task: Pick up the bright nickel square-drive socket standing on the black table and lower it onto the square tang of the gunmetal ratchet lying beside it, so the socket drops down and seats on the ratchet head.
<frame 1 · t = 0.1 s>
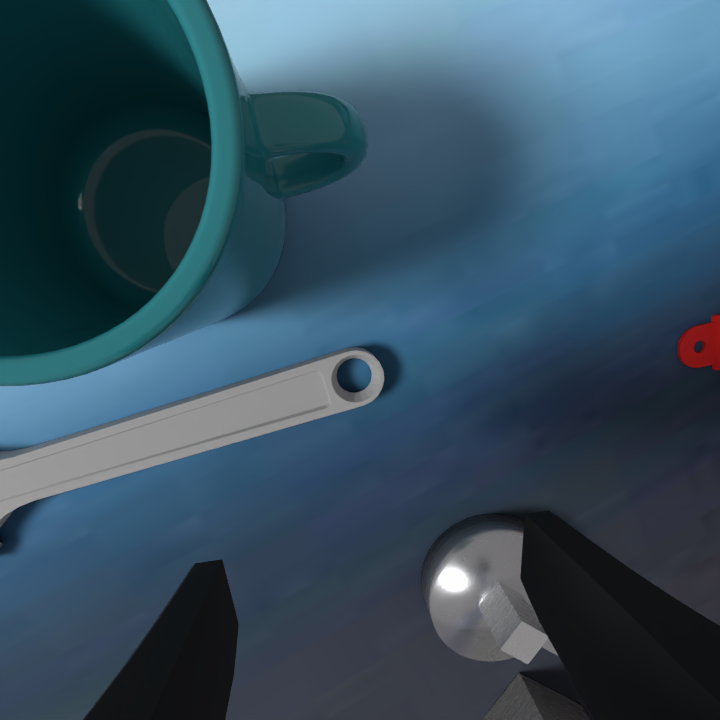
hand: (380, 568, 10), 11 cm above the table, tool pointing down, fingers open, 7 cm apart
adjustable wrench: (125, 453, 20), on the table
socket: (525, 719, 25), on the table
cup: (215, 213, 18), on the table
ratchet: (484, 572, 23), on the table
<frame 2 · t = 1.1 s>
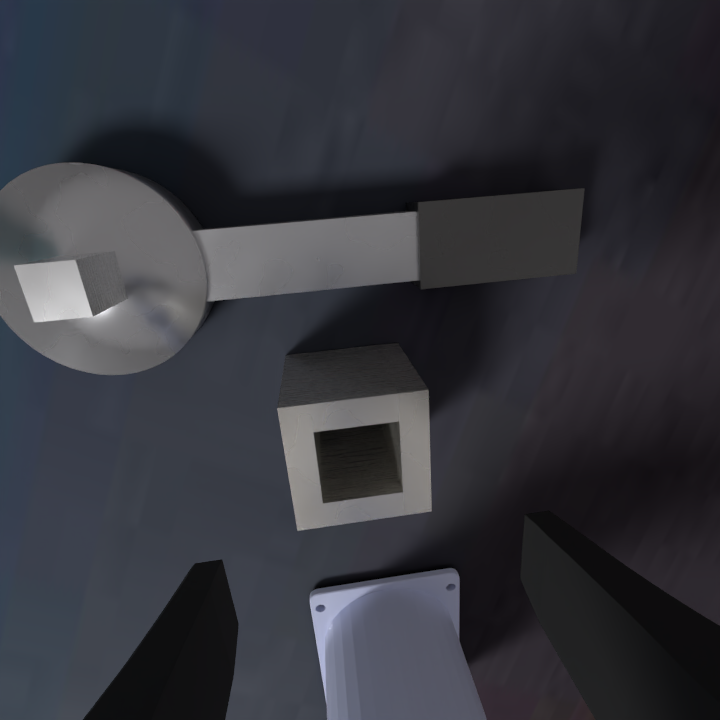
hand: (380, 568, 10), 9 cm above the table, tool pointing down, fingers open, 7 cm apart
socket: (347, 399, 19), on the table
ratchet: (121, 269, 16), on the table
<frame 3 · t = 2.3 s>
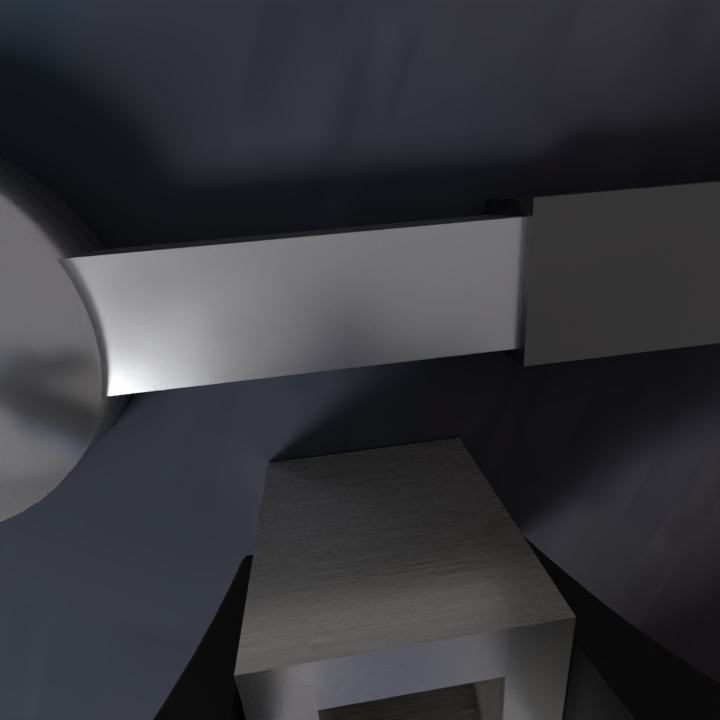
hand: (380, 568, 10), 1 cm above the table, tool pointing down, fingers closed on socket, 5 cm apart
socket: (371, 526, 11), on the table, touching gripper
when the fingers open (4 cm above the table, at t = 5.4 s): socket stays where it is, resting on ratchet.
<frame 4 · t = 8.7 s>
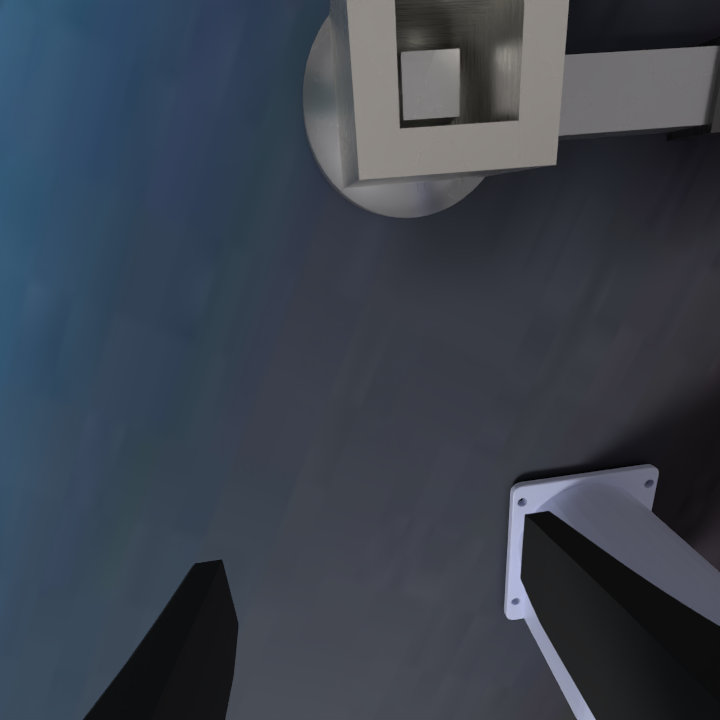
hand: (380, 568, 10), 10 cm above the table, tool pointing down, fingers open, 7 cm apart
socket: (409, 104, 14), point 2 cm above the table, touching ratchet
ratchet: (398, 117, 16), on the table, touching socket
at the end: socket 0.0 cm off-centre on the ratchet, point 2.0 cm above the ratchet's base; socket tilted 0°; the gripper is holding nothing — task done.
